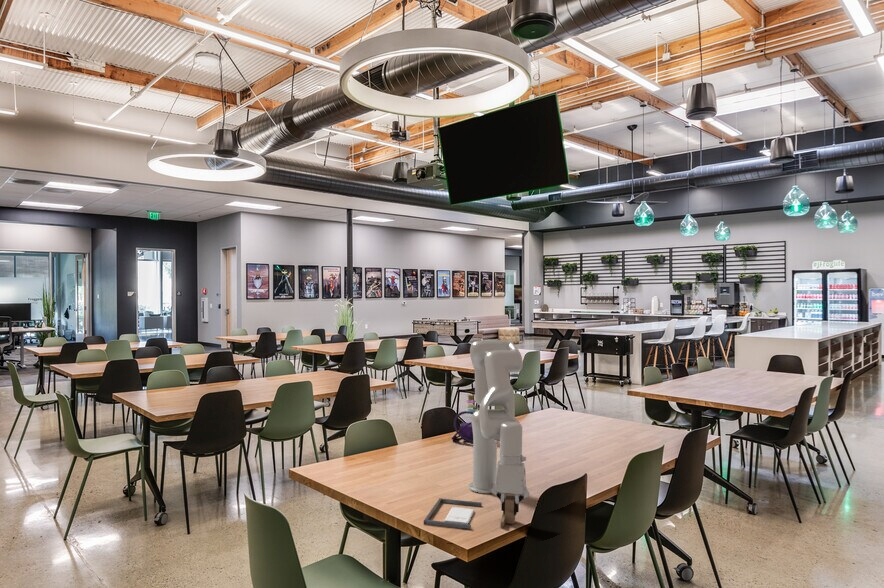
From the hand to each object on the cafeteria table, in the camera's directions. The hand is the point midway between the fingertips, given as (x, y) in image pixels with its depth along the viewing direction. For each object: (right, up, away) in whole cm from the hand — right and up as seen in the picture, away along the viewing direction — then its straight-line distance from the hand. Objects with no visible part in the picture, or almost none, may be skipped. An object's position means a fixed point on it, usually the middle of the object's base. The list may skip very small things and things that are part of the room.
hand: (510, 513), depth 184 cm
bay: (-18, -3, +6) cm, 20 cm away
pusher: (0, -3, 0) cm, 3 cm away
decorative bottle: (-8, -6, +112) cm, 112 cm away
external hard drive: (-17, -4, +4) cm, 18 cm away
